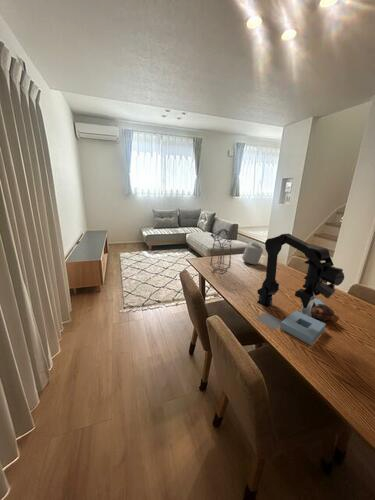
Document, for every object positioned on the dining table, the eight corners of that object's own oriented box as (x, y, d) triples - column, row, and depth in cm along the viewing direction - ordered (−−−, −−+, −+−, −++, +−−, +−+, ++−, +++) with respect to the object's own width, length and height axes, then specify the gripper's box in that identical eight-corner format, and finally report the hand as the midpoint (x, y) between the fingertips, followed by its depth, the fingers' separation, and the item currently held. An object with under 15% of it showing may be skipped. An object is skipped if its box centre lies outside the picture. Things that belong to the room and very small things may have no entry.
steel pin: (299, 311, 96) (303, 292, 93) (303, 308, 98) (307, 290, 95) (308, 315, 93) (313, 296, 90) (312, 312, 95) (316, 293, 92)
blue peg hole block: (279, 329, 99) (281, 322, 98) (294, 316, 109) (295, 310, 107) (310, 346, 89) (312, 338, 87) (324, 331, 98) (326, 324, 97)
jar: (261, 261, 191) (265, 235, 184) (264, 267, 177) (268, 239, 170) (241, 259, 194) (244, 233, 187) (242, 265, 180) (245, 237, 173)
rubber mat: (256, 320, 105) (256, 319, 105) (266, 313, 111) (266, 312, 111) (274, 330, 98) (274, 329, 98) (284, 322, 104) (284, 321, 104)
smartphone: (318, 311, 114) (307, 297, 128) (318, 312, 114) (307, 298, 128) (333, 312, 113) (320, 298, 127) (332, 314, 113) (320, 299, 127)
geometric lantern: (206, 270, 166) (209, 228, 156) (218, 266, 176) (222, 226, 167) (221, 276, 155) (225, 231, 145) (233, 272, 165) (238, 229, 156)
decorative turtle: (305, 308, 116) (309, 296, 114) (336, 321, 108) (342, 308, 105) (301, 315, 109) (306, 302, 107) (335, 330, 100) (341, 316, 98)
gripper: (327, 288, 79) (318, 322, 83) (342, 276, 90) (333, 307, 95) (297, 278, 87) (291, 310, 91) (314, 268, 98) (308, 297, 103)
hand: (307, 306), depth 95 cm, fingers closed on steel pin, 4 cm apart
